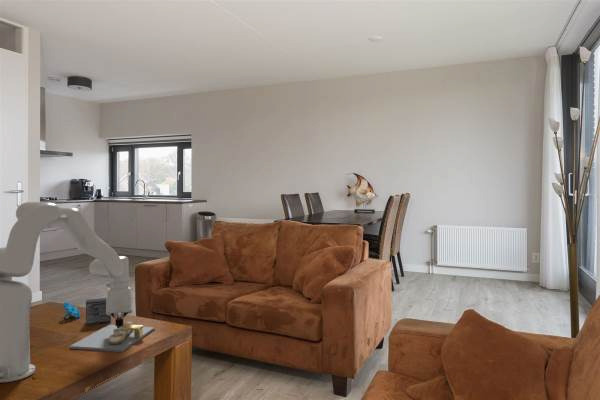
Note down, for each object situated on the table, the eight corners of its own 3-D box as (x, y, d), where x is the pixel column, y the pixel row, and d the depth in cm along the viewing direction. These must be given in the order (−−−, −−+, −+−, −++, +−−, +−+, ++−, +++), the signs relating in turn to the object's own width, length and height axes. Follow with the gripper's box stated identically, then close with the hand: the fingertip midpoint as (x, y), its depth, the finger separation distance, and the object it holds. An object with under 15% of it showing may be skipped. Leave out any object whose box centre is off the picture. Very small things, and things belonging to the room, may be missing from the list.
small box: (111, 318, 205) (111, 296, 205) (111, 322, 199) (110, 300, 199) (86, 321, 201) (86, 299, 201) (85, 325, 195) (85, 302, 195)
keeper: (138, 338, 176) (138, 328, 176) (119, 337, 177) (119, 327, 177) (143, 335, 180) (143, 325, 180) (124, 333, 181) (124, 324, 181)
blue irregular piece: (76, 317, 201) (61, 302, 201) (67, 326, 200) (51, 312, 200) (85, 313, 212) (71, 299, 212) (76, 322, 211) (61, 308, 211)
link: (120, 344, 169) (120, 331, 168) (107, 344, 168) (107, 332, 168) (136, 327, 189) (136, 316, 189) (124, 327, 188) (124, 316, 188)
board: (121, 352, 164) (121, 349, 164) (69, 348, 167) (69, 345, 167) (154, 329, 190) (154, 327, 190) (108, 326, 193) (108, 324, 193)
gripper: (98, 288, 178) (99, 331, 178) (137, 286, 182) (137, 328, 183) (101, 284, 185) (102, 326, 186) (138, 282, 189) (138, 323, 190)
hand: (119, 327), depth 184 cm, fingers closed
